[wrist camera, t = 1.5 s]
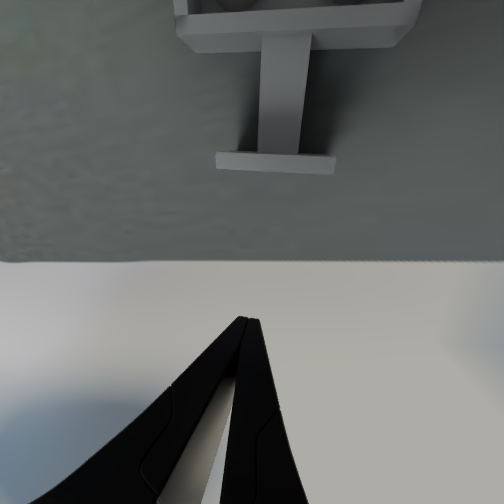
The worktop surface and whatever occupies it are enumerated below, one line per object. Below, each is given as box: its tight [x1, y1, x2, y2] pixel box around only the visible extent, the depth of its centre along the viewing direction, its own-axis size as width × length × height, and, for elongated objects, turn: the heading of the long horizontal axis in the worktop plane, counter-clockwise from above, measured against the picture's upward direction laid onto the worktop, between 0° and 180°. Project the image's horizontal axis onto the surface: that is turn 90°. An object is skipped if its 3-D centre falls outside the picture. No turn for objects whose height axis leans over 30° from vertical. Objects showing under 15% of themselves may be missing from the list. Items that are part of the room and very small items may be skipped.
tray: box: [173, 0, 423, 175], centre depth 10 cm, size 11×12×4 cm
